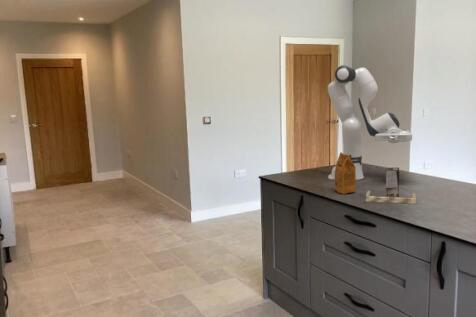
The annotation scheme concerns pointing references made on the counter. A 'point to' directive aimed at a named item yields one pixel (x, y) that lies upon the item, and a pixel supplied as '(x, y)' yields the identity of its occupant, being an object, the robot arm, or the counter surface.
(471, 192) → the counter surface
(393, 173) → the coffee box
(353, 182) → the coffee package
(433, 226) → the counter surface
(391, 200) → the birch bay
